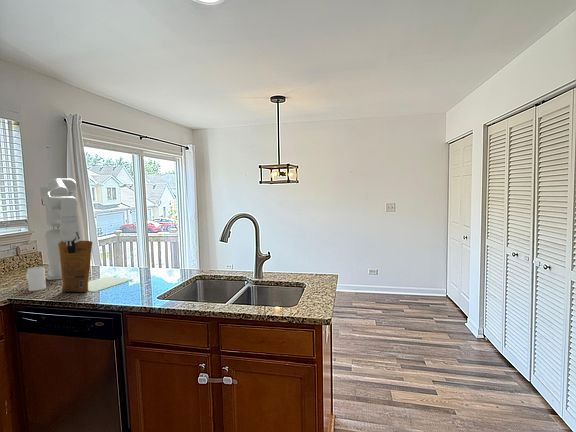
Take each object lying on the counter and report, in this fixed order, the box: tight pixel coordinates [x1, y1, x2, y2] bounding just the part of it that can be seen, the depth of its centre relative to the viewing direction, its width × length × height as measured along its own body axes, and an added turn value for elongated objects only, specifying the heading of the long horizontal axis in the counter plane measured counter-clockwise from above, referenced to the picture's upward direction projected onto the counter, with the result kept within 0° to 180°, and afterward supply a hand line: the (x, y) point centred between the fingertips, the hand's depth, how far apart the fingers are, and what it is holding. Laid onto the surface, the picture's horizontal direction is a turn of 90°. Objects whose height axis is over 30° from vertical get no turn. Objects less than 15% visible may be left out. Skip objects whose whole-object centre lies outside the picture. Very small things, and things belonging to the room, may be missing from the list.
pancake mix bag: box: [58, 240, 93, 293], centre depth 192 cm, size 7×19×28 cm, turn 82°
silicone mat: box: [87, 276, 134, 293], centre depth 206 cm, size 22×27×1 cm
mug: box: [25, 266, 47, 292], centre depth 199 cm, size 12×8×12 cm
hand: (71, 252), depth 189 cm, fingers closed
